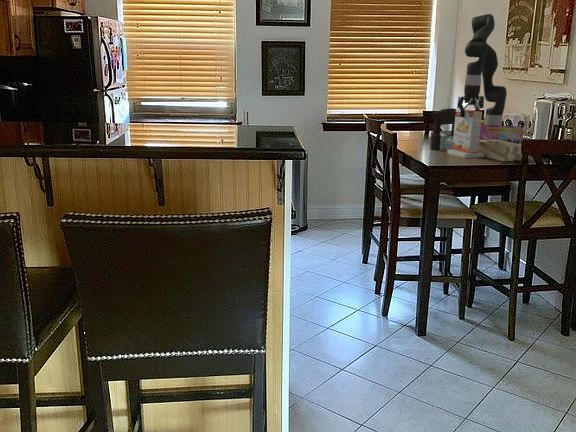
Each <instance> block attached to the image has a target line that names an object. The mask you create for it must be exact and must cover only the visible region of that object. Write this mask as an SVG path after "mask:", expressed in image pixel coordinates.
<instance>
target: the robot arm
mask: <svg viewBox="0 0 576 432" xmlns="http://www.w3.org/2000/svg"><path fill="white" fill-rule="evenodd" d="M495 25H496V24H495V17H494V15H493V14H492V13H488V14H482V15H479V16H474V17H473V18H471V27H472V28H471V29H472V34H473V36H472V38H471V40H469V41H468V42H467V43H466V46H465V48H464V54H465V56H466V57H469V58H478V60H476V61H472V62H469V63H467V67H466V75H465V81H464V87H463V88H464V90H463V94H464V96H462V95H459V96H458V101H457V106H456V109H460V110H461V111H460V116H461V117H464V116H465V109H467V108H468V107H469V106H471V105H472V106H473V107H474V111H481V109H483V108H484V105H485V103H484V101H487V102H488V103H495V104H494V105H493V106H492V107H489V108H486V109H485V117H484V124H483V125H495V126H502V121H503V113H504V110H505V107H506V100H507V95H508V93H507V88H506V86H504V85H502V86H501V85H494V82H493V77H494V75H495V73H496V71H497V68H498V66H499V59H498V56H497V52H496V50H495V49H494V48H493V47H492V46H491V45H490V44H488V41H487V40H488V38H489V37H490V35H491V34H492V33H493V31H494V30H495ZM482 83H483V95H484V96H483V95H480V93H481V86H482Z"/></svg>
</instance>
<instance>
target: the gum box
mask: <svg viewBox="0 0 576 432" xmlns="http://www.w3.org/2000/svg"><path fill="white" fill-rule="evenodd" d="M524 135H525V128H524V127H523V126H519V125H518V126H517V125H514V126H513V125H501V126H495V125H484V124H481V129H480V138H479V140H501V141H506V142H511V143H516V144H521V140H522V141H523V138H524Z"/></svg>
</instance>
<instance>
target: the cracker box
mask: <svg viewBox="0 0 576 432" xmlns="http://www.w3.org/2000/svg"><path fill="white" fill-rule="evenodd" d="M455 109H456V114H455V125H454V135H453V145H452V149H455V150H459V151H463V152H466V153H478V148H479V138H480V129H481V125H482V119H483V111H481V110H480V111H475V109H474V110H473V109H467V108H465V116H464V117H461V116H460V111H461V110H460V109H459V108H455Z"/></svg>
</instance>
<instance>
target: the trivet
mask: <svg viewBox="0 0 576 432" xmlns="http://www.w3.org/2000/svg"><path fill="white" fill-rule="evenodd" d="M447 154H449V155H452V156H456V157H459V158H464V159H468V158H469V159H470V158H471V159H472V158H484V153H482V152H478V153H466V152H463V151H459V150H455V149H447Z"/></svg>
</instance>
